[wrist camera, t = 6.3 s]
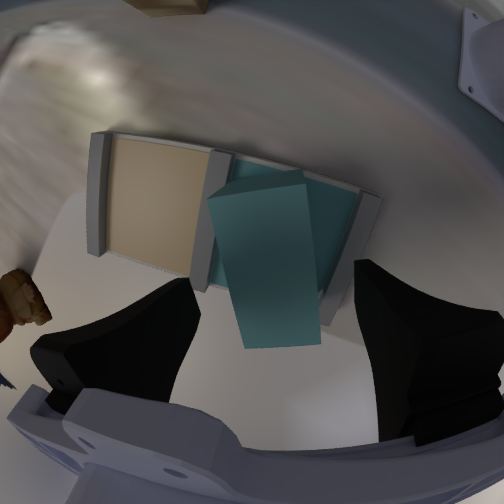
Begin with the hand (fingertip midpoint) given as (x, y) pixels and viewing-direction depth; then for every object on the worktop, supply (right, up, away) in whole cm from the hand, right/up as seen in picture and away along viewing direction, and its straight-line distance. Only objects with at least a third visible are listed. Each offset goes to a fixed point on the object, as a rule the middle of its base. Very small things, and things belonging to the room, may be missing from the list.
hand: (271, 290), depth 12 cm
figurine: (-29, -3, +14) cm, 32 cm away
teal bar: (+1, +2, +5) cm, 6 cm away
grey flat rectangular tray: (-3, +4, +6) cm, 8 cm away
